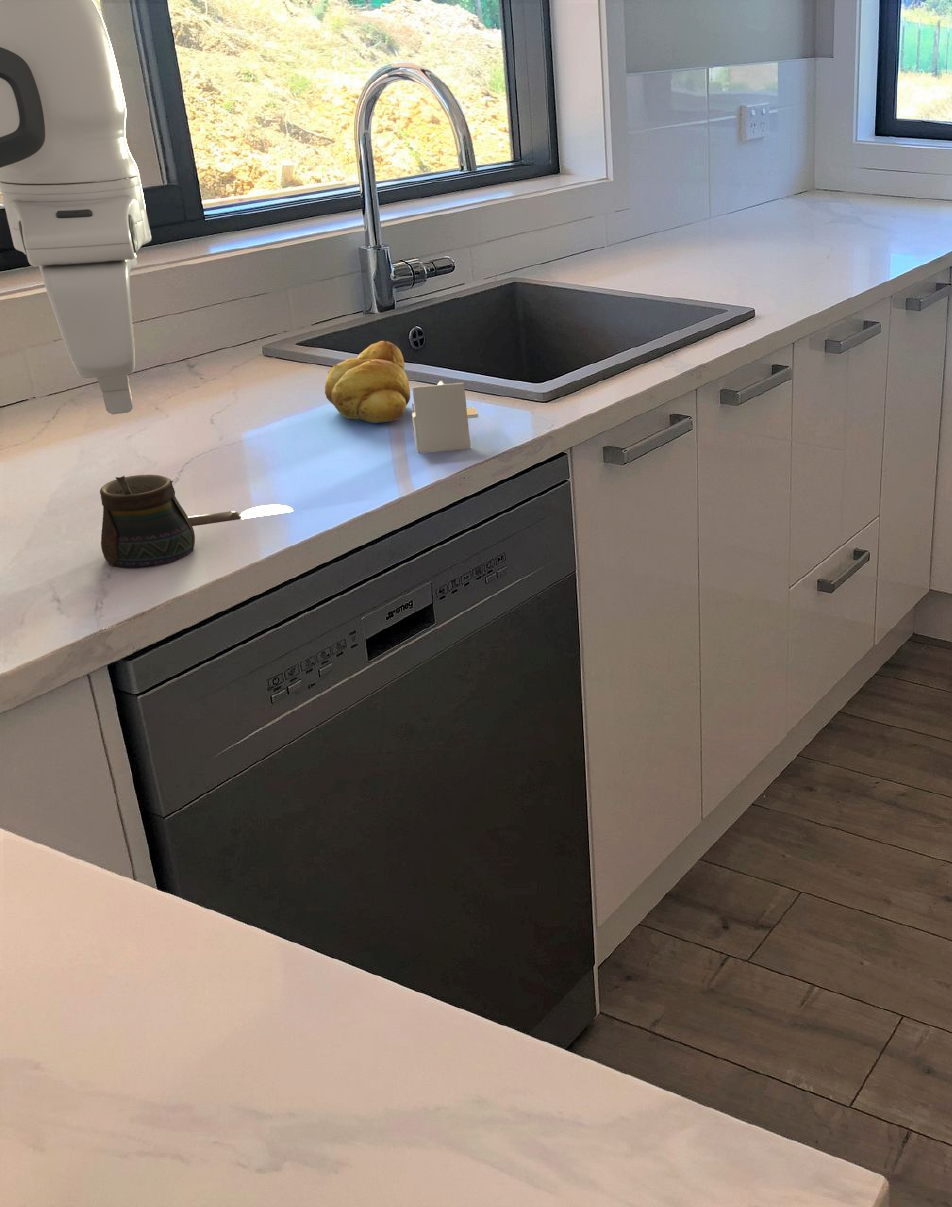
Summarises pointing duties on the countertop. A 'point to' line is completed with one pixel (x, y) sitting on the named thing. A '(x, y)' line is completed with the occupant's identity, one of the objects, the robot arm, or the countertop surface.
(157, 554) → the mate gourd
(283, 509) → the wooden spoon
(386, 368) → the bread roll
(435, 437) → the architectural model
